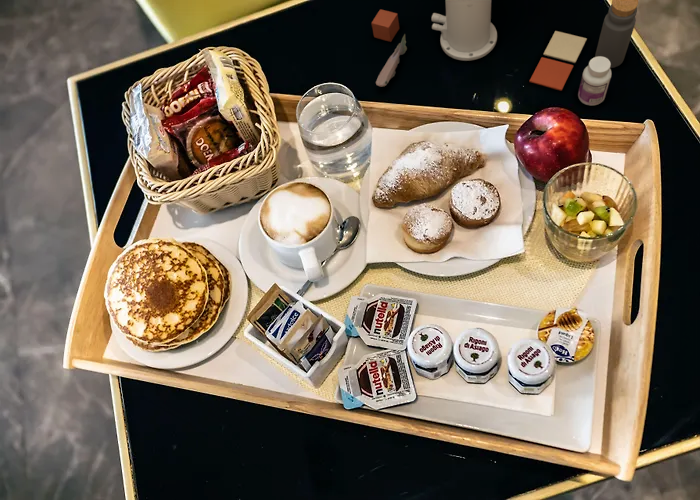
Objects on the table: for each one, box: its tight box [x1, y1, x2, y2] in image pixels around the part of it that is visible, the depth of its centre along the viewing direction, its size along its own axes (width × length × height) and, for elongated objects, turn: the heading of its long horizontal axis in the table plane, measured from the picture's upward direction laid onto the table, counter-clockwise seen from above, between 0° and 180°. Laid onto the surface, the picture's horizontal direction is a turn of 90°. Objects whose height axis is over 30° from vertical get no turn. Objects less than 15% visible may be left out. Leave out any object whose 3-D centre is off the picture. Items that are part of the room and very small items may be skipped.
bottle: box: [594, 0, 639, 69], centre depth 122 cm, size 6×6×15 cm
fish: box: [375, 33, 408, 88], centre depth 135 cm, size 3×14×5 cm, turn 153°
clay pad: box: [529, 56, 574, 92], centre depth 129 cm, size 7×7×1 cm
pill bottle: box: [577, 56, 612, 106], centre depth 121 cm, size 5×5×10 cm
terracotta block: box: [371, 9, 400, 43], centre depth 141 cm, size 4×4×4 cm
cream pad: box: [543, 30, 588, 64], centre depth 132 cm, size 7×7×1 cm
